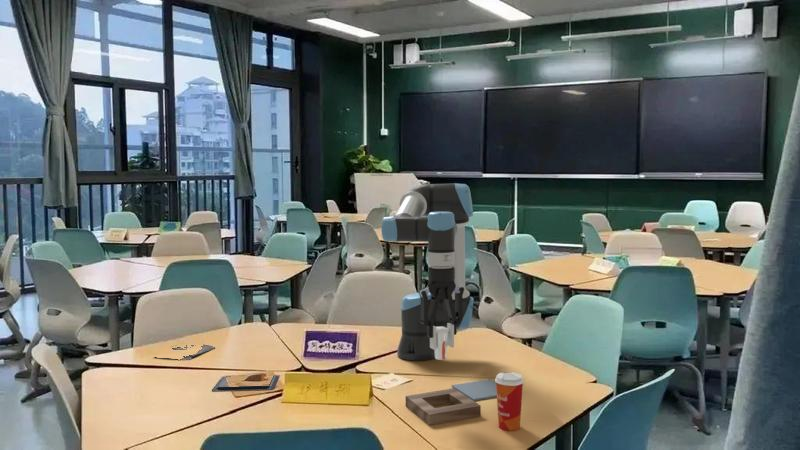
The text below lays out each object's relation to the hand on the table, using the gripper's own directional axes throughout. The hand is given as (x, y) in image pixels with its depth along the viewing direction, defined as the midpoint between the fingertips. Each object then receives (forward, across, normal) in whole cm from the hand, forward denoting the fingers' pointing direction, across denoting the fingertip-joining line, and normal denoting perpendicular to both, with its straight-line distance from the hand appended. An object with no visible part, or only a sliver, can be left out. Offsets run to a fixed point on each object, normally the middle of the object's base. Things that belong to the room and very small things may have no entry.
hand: (442, 347), depth 182 cm
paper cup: (+19, +11, -18) cm, 28 cm away
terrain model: (+20, -62, +96) cm, 116 cm away
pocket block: (+19, 0, 0) cm, 19 cm away
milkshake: (+3, 0, 0) cm, 3 cm away
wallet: (+20, -47, +49) cm, 71 cm away
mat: (+19, +19, +10) cm, 28 cm away
